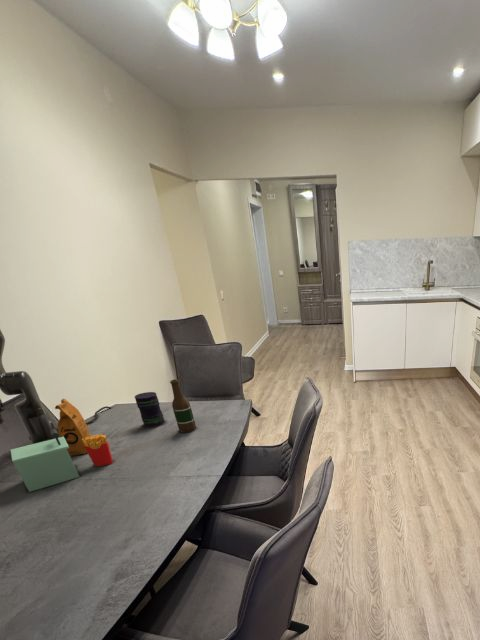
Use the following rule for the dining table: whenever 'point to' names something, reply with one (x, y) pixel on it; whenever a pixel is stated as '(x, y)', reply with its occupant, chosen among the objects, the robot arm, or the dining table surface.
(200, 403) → the dining table surface
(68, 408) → the coffee package
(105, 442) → the french fries
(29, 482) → the cool box
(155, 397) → the dark barrel
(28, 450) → the lid
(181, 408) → the beer bottle
